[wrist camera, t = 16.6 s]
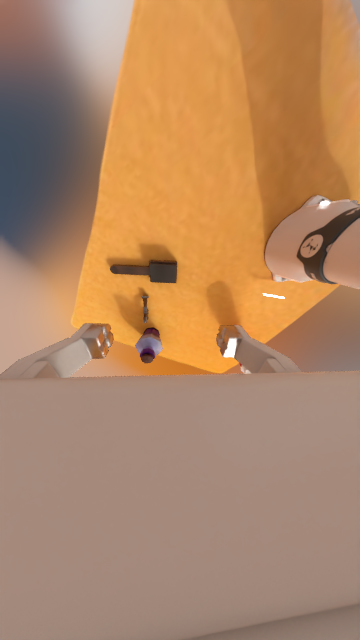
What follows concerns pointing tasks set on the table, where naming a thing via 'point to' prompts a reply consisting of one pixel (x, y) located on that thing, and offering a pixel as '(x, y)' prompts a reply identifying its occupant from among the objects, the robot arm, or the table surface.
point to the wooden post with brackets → (145, 308)
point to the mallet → (151, 270)
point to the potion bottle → (149, 345)
